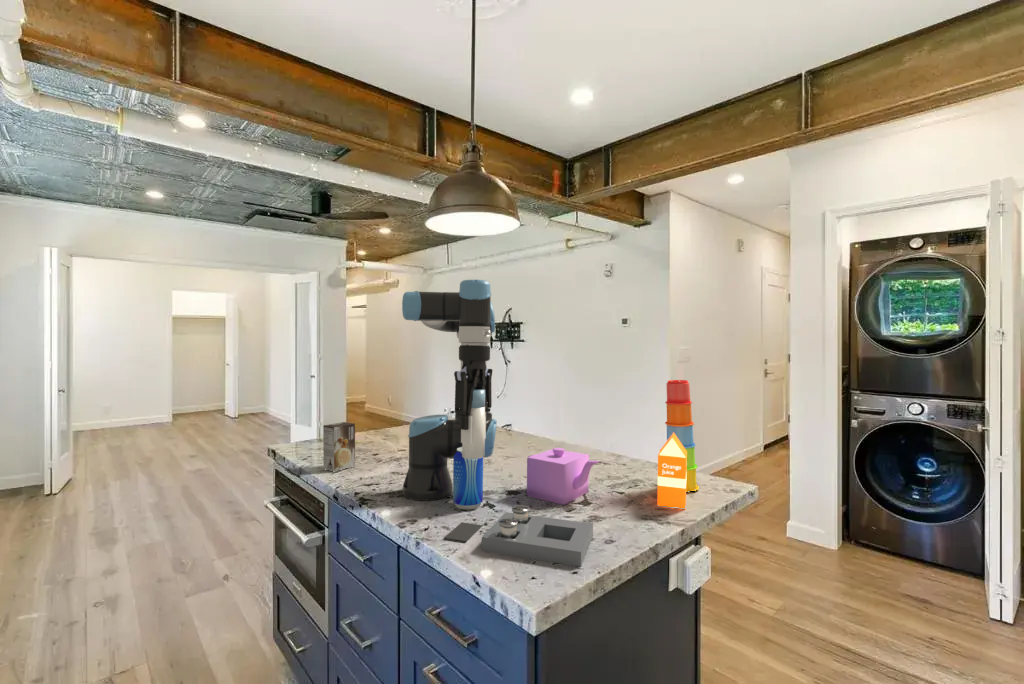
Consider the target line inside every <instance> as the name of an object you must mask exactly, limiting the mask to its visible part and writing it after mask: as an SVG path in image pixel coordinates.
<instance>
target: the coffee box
mask: <svg viewBox="0 0 1024 684" xmlns="http://www.w3.org/2000/svg"><path fill="white" fill-rule="evenodd" d="M322 427H323V428H322V429H323V470H324V469H326V470H330V471H338V470H341V471H343V470H342V469H345V468H349V467H352V466H355V467H356V423H354V422H348V421H343V422H337V423H331V424H330V423H329V424H324V425H323V426H322ZM352 468H353V467H352ZM349 469H350V468H349ZM326 470H325V471H326ZM345 470H346V469H345ZM330 471H329V472H330ZM338 472H339V471H338Z"/></svg>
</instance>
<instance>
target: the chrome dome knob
mask: <svg viewBox="0 0 1024 684" xmlns="http://www.w3.org/2000/svg"><path fill="white" fill-rule="evenodd" d="M499 525H500V537H503V538H510V539H515V538H516V530H517V525H518V521H517V520H515V519H511V518H505V519H501V520H500V521H499Z"/></svg>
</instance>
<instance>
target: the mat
mask: <svg viewBox="0 0 1024 684" xmlns="http://www.w3.org/2000/svg"><path fill="white" fill-rule="evenodd" d="M483 526H484V525H482V524H476V523H471V522H463V521H462V522H460V523H459V524H457V525H456V526H455V528H453V529H452V530H451V531H449V533H447V534H446V535H445V536H444V537H443V540H446V541H453V542H458V543H464V544H466V543H467V542H468V541H469V540H471V538H473V536H474V535H475V534H476V533H478V531H479V530H480V529H481V528H482V527H483Z"/></svg>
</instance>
